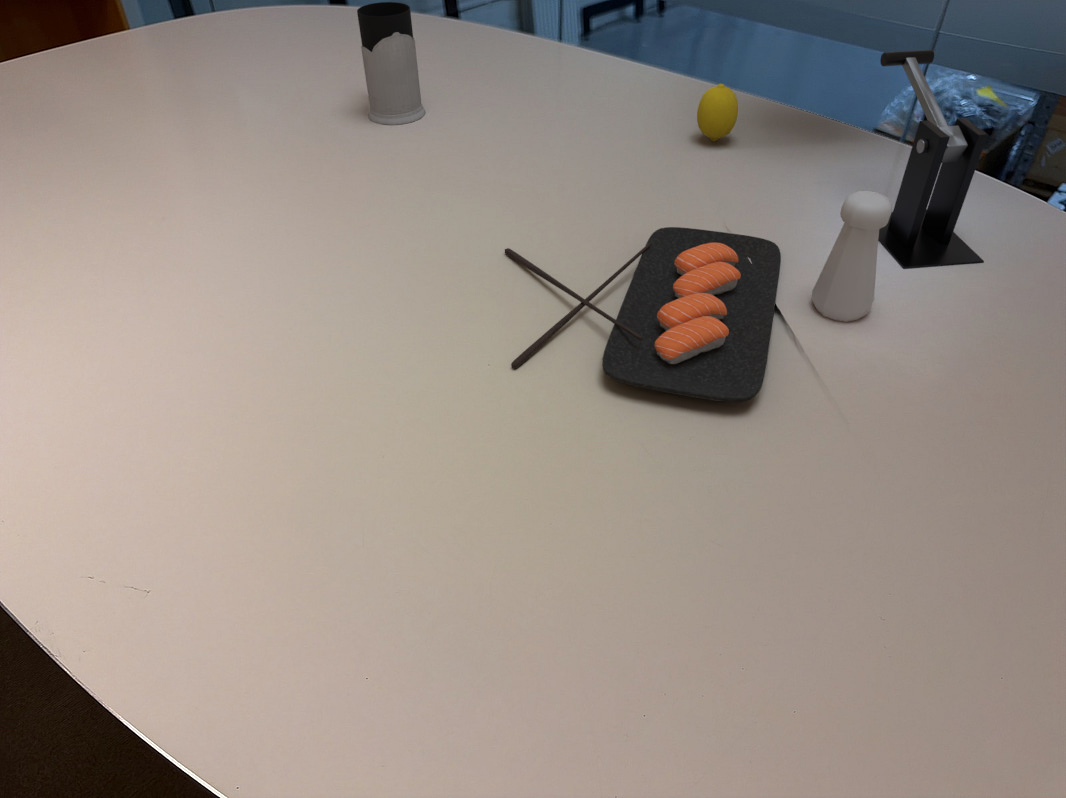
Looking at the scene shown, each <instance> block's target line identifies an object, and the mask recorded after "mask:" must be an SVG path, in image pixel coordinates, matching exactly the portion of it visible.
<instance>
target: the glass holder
mask: <svg viewBox="0 0 1066 798" xmlns="http://www.w3.org/2000/svg"><path fill="white" fill-rule="evenodd" d="M411 12H412V11H411V6H409V5H408V4H406V3H404V2H403V3H402V2H395V1H386V2H385V1H381V2H374V3H369V4H364V5H362V6H360V7H358V8H357V10H356V15H357V21H358V27H359V34H360V35H359V36H360V41H361V46H360V49H361V50H360V51H361V55H362V64H363V69H364V76H365V77H364V78H365V83H366V90H367V97H368V104H369V111H368V114H367V116H368V119H369V120H370V121H372V122H373V123H376V124H379V125H387V126H395V125H397V126H399V125H405V124H409V123H414V122H416V121H419V120H421V119H422V118H423V117H424V116H425V115H426V109H425V107H424V106H423V102H422V94H421V86H420V85H421V84H420V78H419V77H420V76H419V68H418V67H419V66H418V58H417V56H418V55H417V48H416V40H415V38H414V30H413V22H412V14H411Z"/></svg>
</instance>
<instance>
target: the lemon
mask: <svg viewBox="0 0 1066 798" xmlns="http://www.w3.org/2000/svg"><path fill="white" fill-rule="evenodd" d="M738 116H739V103H738V97H737V96H736V93H735V92H734V91H733V90H732V89H731V88H730V87H728V86H726V85H725V84H724V83H718V84H717V85H715V86H713V87H710V88H708V89H707V90H706V91H705V92H704V93H703V95H701V99H700V100H699V103H698V107H697V111H696V121H697V122H696V123H697V126H698V129H699V131H700V132H701V133H702V134H703V135H704V136H705V137H707V138H709V140H711V142H717V141H718V140H719V139H722V138H724V137H726V136H728V135H729V134H730V133H731V132H732V130H733V129H734V128H735V126H736V124H737V121H738Z"/></svg>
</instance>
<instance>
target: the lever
mask: <svg viewBox="0 0 1066 798" xmlns="http://www.w3.org/2000/svg"><path fill="white" fill-rule="evenodd" d="M934 60H935V51H934V50H933V49H921V50H920V49H919V50H918V49H917V50H903V51H902V50H901V51H888V52H887V51H886V52H883V53H881V55H880V62H879V63H880V65H881V67H898V66H902V68H903V70H904V72H905V75H906V77H907V79H908V81H909V83H910V85H911V87H912V89H913V92H914V95H915V96H916V98H917V100H918V103H919V104H920V107H921V109H922V111H923V113H924V115H925V118H926V121H927V120H929V121H930V122H931V123H933V124H934V125H935V126H937V127H938V128H939V129H940V130H942V131H943V132H944V133H945V134H947V135H948V136H949V137H950V138H949V141H948V144H947V147H946V150H945V153H944V157H943V160H942V163H947V162H957V161H958V159H959V158H960V156H961V155H962V153H963V152H964V150H965V149H966V148H967V146H968V144H967V142H966V140H965V138H964V136H963V134H962V132H961V130H960V127H959V126H954V125H948V122H947V121H946V118H945V116H944V114H943V112H942V110H941V108H940V106H939V104H938V102H937V99H936V98H935V95H934V93H933V91H932V89H931V88H930V85H929V83H928V81H927V78H926V77H925V75H924V73H923V71H922V69H921V66H920V65H930V64H932V63H933V62H934ZM942 163H941V164H942Z"/></svg>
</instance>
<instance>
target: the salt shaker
mask: <svg viewBox="0 0 1066 798" xmlns="http://www.w3.org/2000/svg"><path fill="white" fill-rule="evenodd" d="M891 212H893V204H892V202H891V200H890V199H889V198H888V197H887V196H886V195H884V194H882V193H880V192H875V191H871V190H858V191H854V192H852V193H850V194H849V195H847V196H845V199H844V200H843V203H842V205H841V208H840V212H839V213H840V214H839V215H840V218H841V220H842V222H843V224H842V227H841V229H840V232H839V233H838V236H837V238H836V239H835V242H834V244H833V246H832V249H831V251H830V253H829V255H828V257H827V258H826V261H825V263H824V265H823V267H822V269H821V272H820V274H819V276H818V278H817V280H816V282H815V284H814V286H813V289H812V292H811V299H812V303H813V304H812V305H814V307H815V309H816V311H817V312H818V313H819V314H821V315H822V316H823V317H825V318H828V319H831V320H833V321H838V322H839V321H841V322H844V323H847V322H852V321H857V320H859V319H861V318H864V317H865V316H867V314H868V313H869V312H870V311H871V309H872V307H873V304H874V301H875V294H876V293H875V292H876V291H875V290H876V278H877V277H876V276H877V263H878V262H877V261H878V248H879V241H878V238H879V229H880V228H882V227H884V226H886V225H887V223H888V221H889V218H890V215H891Z"/></svg>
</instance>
